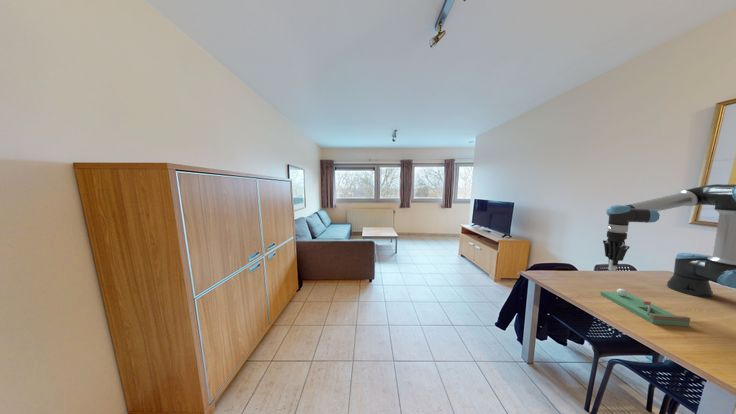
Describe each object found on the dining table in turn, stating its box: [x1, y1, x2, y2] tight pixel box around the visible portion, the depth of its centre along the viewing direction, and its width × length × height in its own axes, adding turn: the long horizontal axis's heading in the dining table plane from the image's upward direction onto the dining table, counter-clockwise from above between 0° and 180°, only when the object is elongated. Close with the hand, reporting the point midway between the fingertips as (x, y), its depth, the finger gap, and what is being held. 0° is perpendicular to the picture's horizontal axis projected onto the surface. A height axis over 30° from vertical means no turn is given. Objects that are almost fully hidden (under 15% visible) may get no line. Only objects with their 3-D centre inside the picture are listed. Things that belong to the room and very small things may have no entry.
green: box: [599, 290, 691, 327], centre depth 109 cm, size 15×26×9 cm, turn 171°
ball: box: [616, 288, 629, 296], centre depth 117 cm, size 4×4×4 cm
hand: (612, 270), depth 123 cm, fingers closed
